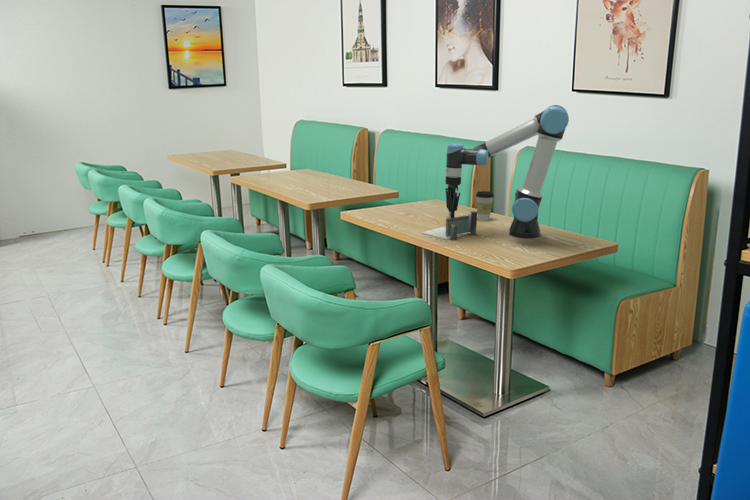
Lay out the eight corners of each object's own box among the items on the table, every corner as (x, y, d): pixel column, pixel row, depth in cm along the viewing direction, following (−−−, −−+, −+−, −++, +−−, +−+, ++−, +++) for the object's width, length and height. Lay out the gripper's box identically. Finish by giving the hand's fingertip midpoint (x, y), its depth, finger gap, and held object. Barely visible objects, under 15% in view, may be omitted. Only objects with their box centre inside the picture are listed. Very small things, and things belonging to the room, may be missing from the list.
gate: (469, 231, 313) (470, 212, 310) (471, 231, 311) (472, 212, 308) (444, 235, 303) (445, 216, 300) (447, 236, 302) (448, 217, 299)
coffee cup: (492, 222, 336) (494, 194, 332) (474, 221, 338) (475, 193, 334) (492, 218, 346) (494, 191, 341) (474, 217, 347) (476, 190, 343)
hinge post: (476, 234, 310) (478, 211, 306) (473, 235, 308) (474, 212, 305) (472, 233, 311) (473, 211, 308) (469, 234, 310) (470, 211, 307)
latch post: (456, 239, 301) (457, 224, 299) (453, 240, 299) (454, 225, 297) (454, 238, 302) (454, 223, 300) (450, 239, 300) (451, 224, 298)
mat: (469, 233, 311) (469, 232, 311) (447, 239, 300) (447, 238, 300) (442, 227, 323) (442, 226, 323) (421, 233, 312) (421, 232, 312)
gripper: (441, 174, 304) (438, 221, 311) (451, 178, 292) (449, 227, 299) (455, 173, 306) (452, 220, 313) (466, 178, 294) (463, 226, 301)
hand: (451, 223), depth 306 cm, fingers closed
